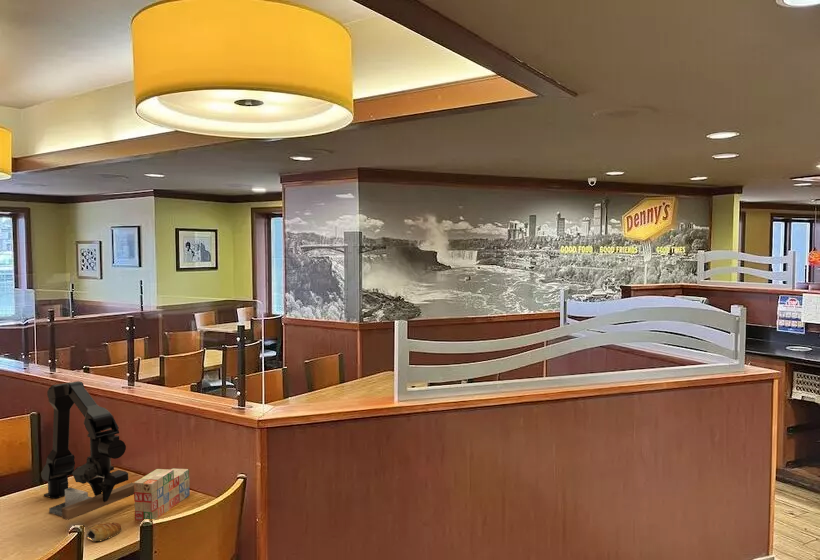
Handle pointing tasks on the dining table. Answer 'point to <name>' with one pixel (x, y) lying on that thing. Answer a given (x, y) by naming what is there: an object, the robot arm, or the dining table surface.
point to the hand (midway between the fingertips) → (101, 500)
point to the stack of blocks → (160, 492)
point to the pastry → (103, 531)
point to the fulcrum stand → (69, 500)
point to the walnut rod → (97, 502)
